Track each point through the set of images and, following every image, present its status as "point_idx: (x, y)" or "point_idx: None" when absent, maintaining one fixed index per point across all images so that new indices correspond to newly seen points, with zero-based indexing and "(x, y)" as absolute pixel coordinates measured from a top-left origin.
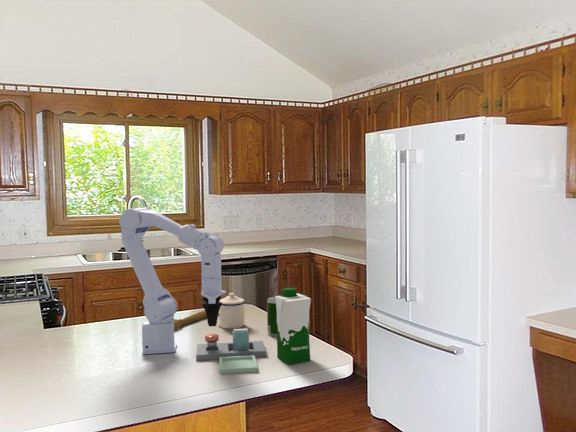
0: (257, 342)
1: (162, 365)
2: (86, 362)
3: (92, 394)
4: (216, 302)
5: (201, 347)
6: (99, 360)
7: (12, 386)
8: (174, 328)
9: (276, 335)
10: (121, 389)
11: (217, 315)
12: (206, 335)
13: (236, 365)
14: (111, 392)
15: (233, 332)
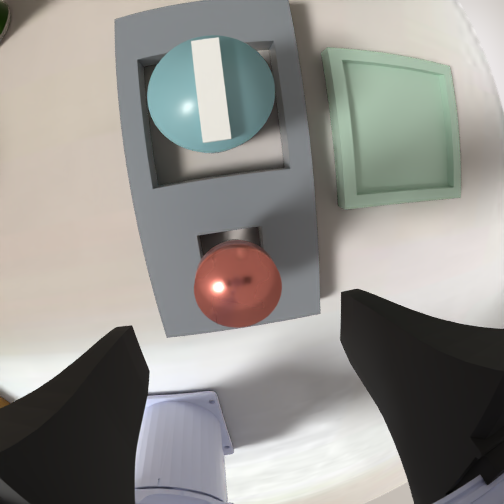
0: (139, 36)
1: (339, 386)
2: (279, 495)
3: None
4: (494, 429)
5: None
6: (270, 488)
7: (367, 499)
8: (1, 402)
9: (9, 18)
10: None
11: (428, 318)
12: (224, 322)
13: (409, 134)
14: None
15: (240, 142)
